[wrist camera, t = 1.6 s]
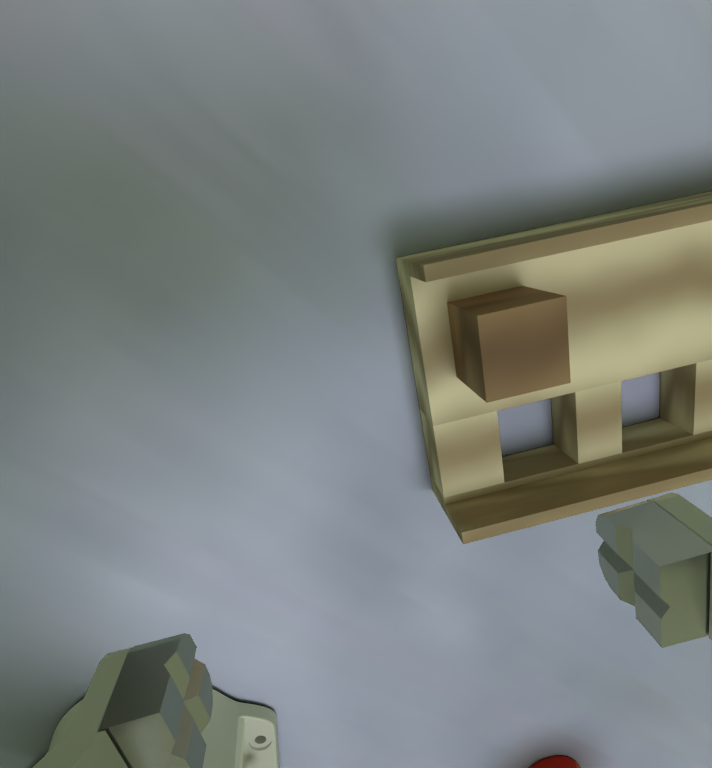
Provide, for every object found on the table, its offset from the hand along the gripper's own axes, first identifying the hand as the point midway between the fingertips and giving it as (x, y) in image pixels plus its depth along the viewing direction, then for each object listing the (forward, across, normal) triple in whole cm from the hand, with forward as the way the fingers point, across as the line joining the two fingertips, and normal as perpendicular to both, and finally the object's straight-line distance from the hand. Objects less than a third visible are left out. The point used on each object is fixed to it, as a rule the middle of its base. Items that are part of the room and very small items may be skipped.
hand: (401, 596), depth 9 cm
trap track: (+21, -16, +5) cm, 27 cm away
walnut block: (+18, -9, +1) cm, 20 cm away
